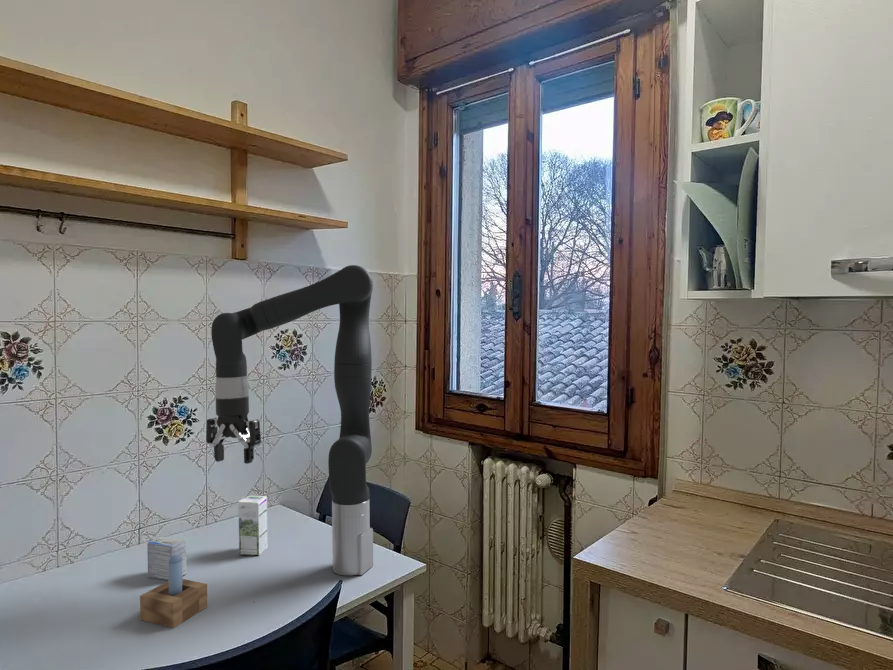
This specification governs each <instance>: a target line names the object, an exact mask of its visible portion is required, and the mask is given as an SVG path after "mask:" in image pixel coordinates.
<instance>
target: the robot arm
mask: <svg viewBox="0 0 893 670" xmlns="http://www.w3.org/2000/svg"><path fill="white" fill-rule="evenodd" d="M373 288H374V281H373V279H372V276H371V274H370V272H369V271H368V269H366V268H364V267H362V266H360V265H356V264H351V265H347V266H344V267H343V268H341V269H340V270H338V271H336V272H334V273H333V274H331V275H329V276H327V277H326V278H323V279H321V280H319V281H317V282H315V283H313V284H310V285H307V286H304V287H301V288H298V289H294V290H291V291H289V292H286V293H282V294H279V295H276V296H273V297H271V298H267V299H264V300H262V301H259V302H257V303H254V304H253V305H252V306H251V307H248V308H245V309H242V310H241V309H240V310H239V311H236V312H223V313H220V314H218V315H217V316H216V317H215V318H214V320H213V321H212V323H211V330H210V331H211V332H210V333H211V335H210V336H211V342H212V347H213V351H214V356H215V387H214V390H215V393H214V395H215V415H216V416H217V417H212V418H207V419H206V433H205V434H206V435H205V436H206V437H205V438H206V439H205V441H206V443H207V444H211V445H212V446H213V454H214V455H213V457H214V459H215V462H217V463H218V462H222V461H224V460H225V445H224V442H225V440H227V438H233V439H237V441H239V442H241V444H242V445H243V447H244V448H243V463H244V464H251V463H253V461H254V459H255V458H254V457H255V455H254V454H255V449H254V447H255V446H257V445H260V444H261V443H262V439H261V438H262V436H261V426H260V425H261V424H260V420H259V419H253V420H252V419H251V420H250V419H249V418H248V415H249V413H250V402H249V400H250V399H249V397H250V396H249V395H250V394H249V393H250V392H249V381H248V365H247V362H248V361H247V357H246V354H245V353H244V352H243V351H244V350H243V340H245V339H247V338H250V337H252V336H255V335H257V334H259V333H260V332H261V333H262V332H264V331H269V330H271V329H274V328H277V327H279V326H283V325H285V324H288V323H290V322H294V321H295V320H298V319H300V318H302V317H304V316H306V315H308V314H311V313H314V312H316V311H318V310H321V309H324V308H327V307H330V306H334V305H338V308H339V327H338V332H337V338H336V342H335V343H336V344H335V350H334V351H335V352H334V363H333V365H334V367H333V368H334V371H333V373H334V374H333V376H334V377H333V378H334V387H335V393H336V396H337V397H336V398H337V400H338V405H339V409H340V427H339V428H340V430H339V438H338V439H337V440H336V441H335V442H334V443H333V444H332V445H331V447H330V449H329V452H328V460H327V461H328V467H327V468H328V484H329V490H330V493H331V524H332V525H331V530H332V531H331V534H332V535H331V538H332V539H331V541H332V542H331V544H332V548H331V549H332V552H331V553H332V571H333V573H335V574H337V575H341V576H347V577H348V576H357V575H358V576H362V575H364V574H365V573H366V572H367V571H368V570H370V569H371V568H372V567H373V566H374V529H373V527H371V526H370V524H371V523H370V515H371V514H370V513H371V512H370V487H369V486H368V484H367V471H366V470H367V468H366V467H367V466H366V465H367V464H368V462H369V461H370V460H371V457H372V452H373V451H372V450H373V448H372V437H371V424H370V405H371V404H370V403H371V393H372V391H371V390H372V366H373V365H372V363H373V362H372V345H371V335H370V325H369V323H370V308H371V301H372V293H373V290H374V289H373Z"/></svg>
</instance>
